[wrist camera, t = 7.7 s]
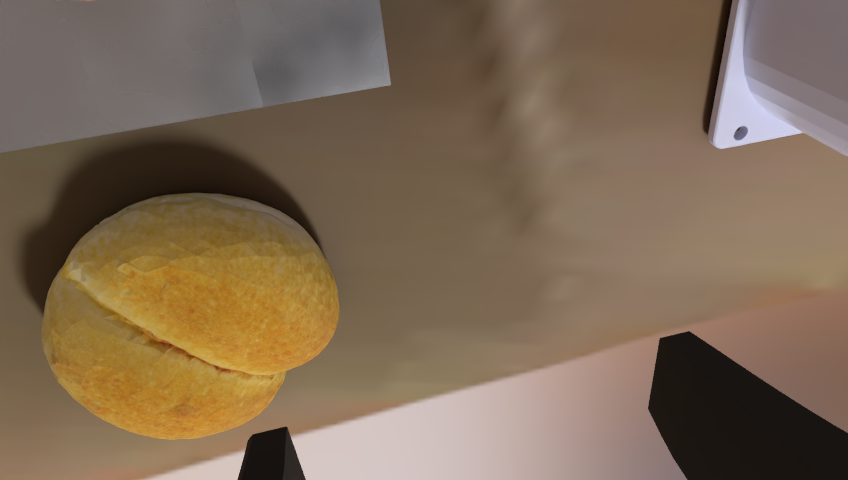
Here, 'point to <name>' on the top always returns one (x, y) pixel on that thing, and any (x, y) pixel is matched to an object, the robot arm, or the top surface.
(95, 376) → the bread roll
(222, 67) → the slotted grey box
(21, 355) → the top surface
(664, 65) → the top surface
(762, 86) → the robot arm
